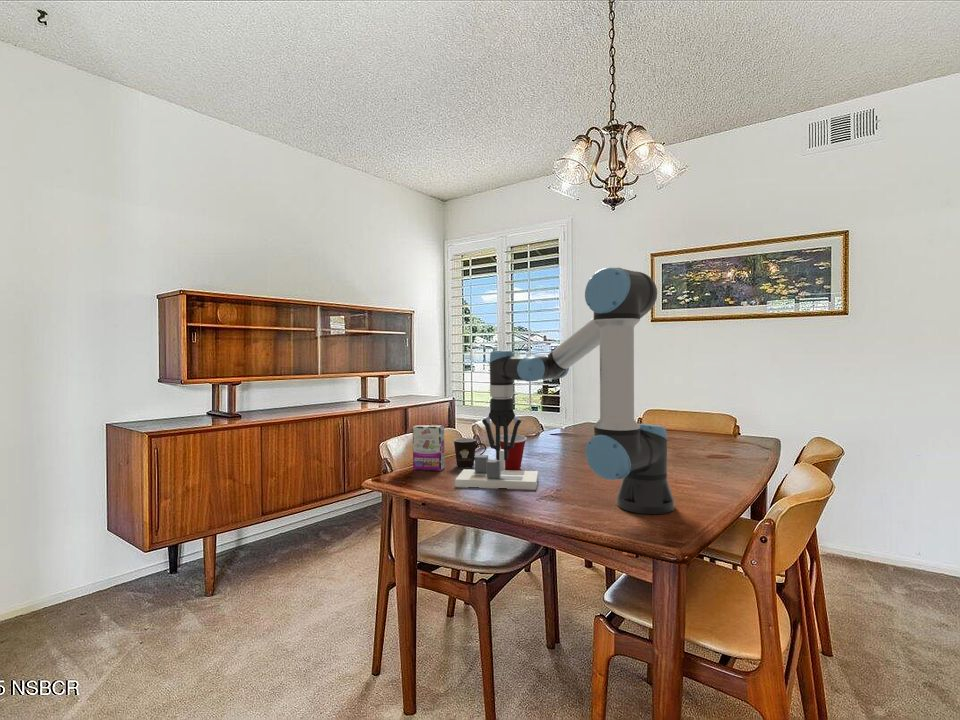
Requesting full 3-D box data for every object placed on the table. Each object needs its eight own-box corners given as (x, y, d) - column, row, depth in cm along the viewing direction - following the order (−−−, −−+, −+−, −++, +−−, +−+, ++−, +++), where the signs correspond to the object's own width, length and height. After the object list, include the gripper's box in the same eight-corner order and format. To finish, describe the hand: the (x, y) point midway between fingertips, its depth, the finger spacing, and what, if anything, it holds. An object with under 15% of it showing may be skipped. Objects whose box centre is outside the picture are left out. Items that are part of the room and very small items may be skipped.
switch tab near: (499, 477, 160) (499, 462, 160) (487, 477, 161) (486, 462, 161) (500, 474, 164) (500, 459, 164) (488, 474, 165) (488, 459, 165)
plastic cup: (498, 472, 180) (497, 439, 180) (498, 465, 191) (497, 434, 190) (528, 472, 179) (527, 439, 179) (526, 465, 190) (526, 434, 190)
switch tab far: (486, 472, 168) (486, 457, 168) (474, 472, 169) (474, 457, 168) (488, 469, 172) (488, 455, 172) (476, 469, 172) (476, 454, 172)
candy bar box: (445, 468, 187) (444, 425, 187) (441, 471, 182) (440, 427, 182) (417, 467, 190) (416, 424, 190) (412, 470, 185) (411, 426, 185)
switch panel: (535, 489, 157) (535, 481, 157) (455, 487, 161) (455, 479, 161) (538, 478, 171) (537, 470, 171) (463, 476, 175) (463, 468, 175)
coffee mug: (449, 467, 189) (449, 441, 188) (461, 462, 196) (460, 437, 196) (476, 470, 183) (476, 443, 183) (487, 465, 191) (487, 439, 191)
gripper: (522, 396, 164) (523, 467, 165) (483, 396, 166) (484, 466, 167) (520, 399, 157) (521, 473, 157) (479, 398, 159) (480, 472, 160)
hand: (502, 469), depth 162 cm, fingers closed
